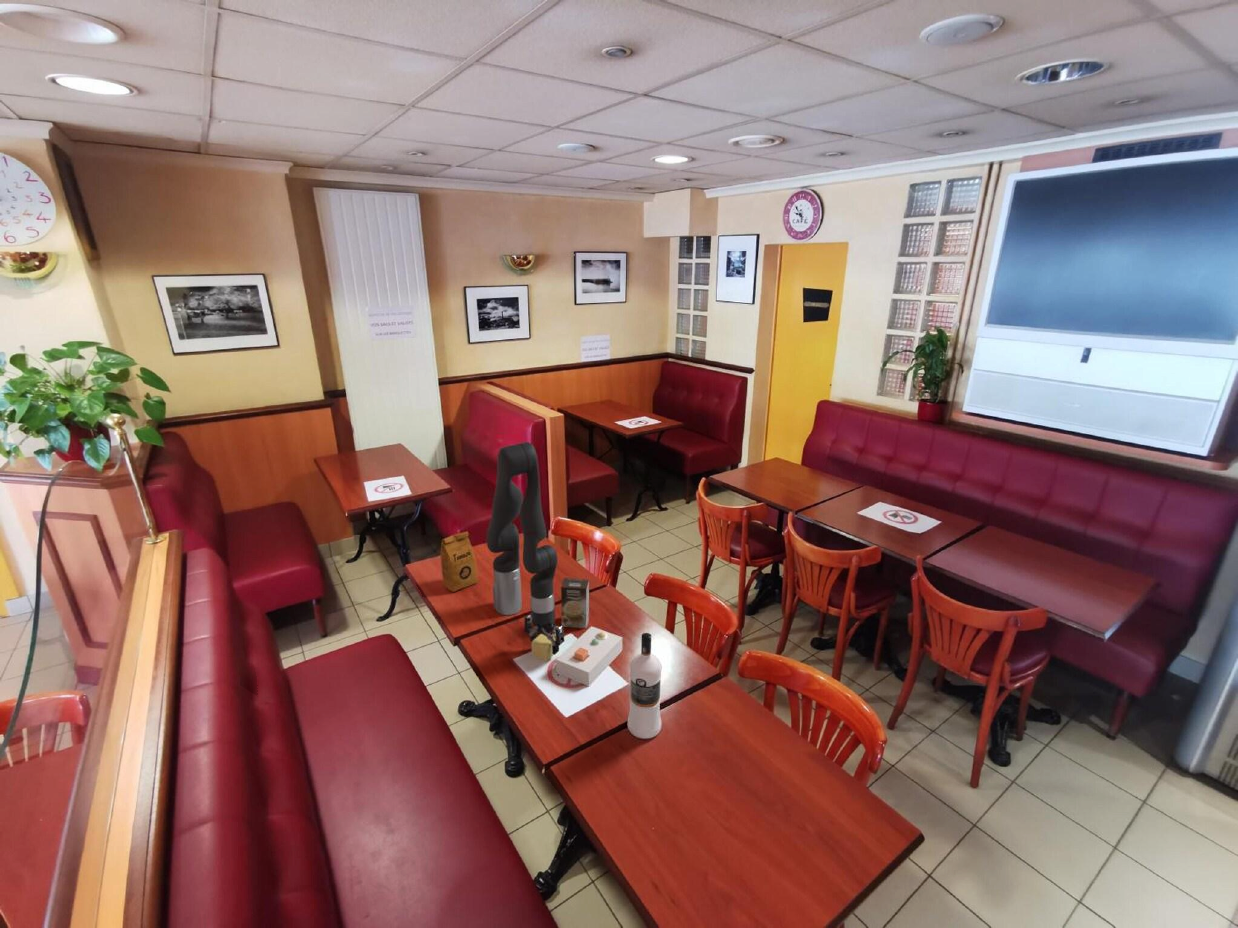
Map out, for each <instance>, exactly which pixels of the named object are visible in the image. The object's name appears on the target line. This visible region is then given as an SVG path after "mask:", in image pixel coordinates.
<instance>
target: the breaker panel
mask: <svg viewBox="0 0 1238 928" xmlns="http://www.w3.org/2000/svg"><path fill="white" fill-rule="evenodd" d="M580 647H581V648H583V649H586V650H588V658H587V659H586V660H585V661H584V662H581V661H579V660H576V659H575V652H576V651H577V650H578V649H579V648H580ZM622 651H623V637H622V636H619V635H617V634H614V633H612V632H608V631H605V630H603V629H601V628H598V627H594V626H590V627H589V628H588V629H587V630H586V631H584V633H582V634H581V636H579V637H578V638H577V639H576V640H575V641H574V642H573V643H572V644H571V645H570V646H569V647H568V648H567V649H566V650H565V651H563V652H562V653H561V654H560V655H559V656H558V657H557V658H555V666H556V674H558V675H560V676H563V677H565V678H568V679H570V680H573V681H575V682H577V683H580V684H581V685H582V684H583V685H585V686H587V687H590V686H591V685H592V684H593V683H594V682H595V681H596V680H597V678H598V677H600V675H602V673H603V672H605V670H606V669H607V668H608V667H609V666H610V664H612V662H613V661H614V660H615V659H616V658H617V657H618V656H619V655H620V653H622Z"/></svg>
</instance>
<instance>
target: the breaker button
mask: <svg viewBox="0 0 1238 928" xmlns="http://www.w3.org/2000/svg"><path fill="white" fill-rule="evenodd" d="M587 658H588V650H586V649H583V648H581V647H580V648H579V649H578V650H577V651H576V652H575V659H576V660H579V661H581V662H584V661H585V660H586V659H587Z"/></svg>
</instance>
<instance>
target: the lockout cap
mask: <svg viewBox="0 0 1238 928" xmlns="http://www.w3.org/2000/svg"><path fill="white" fill-rule="evenodd" d="M551 635H552V634H550V636H551ZM553 639H554V640H555V638H554V637H553ZM530 644H531V645H532V646H531V655H532V656H534V657H536V658H539V659H541V660H543V661H545V662H547V661H549V660H550V659H551V658H553V656H555V655H554V654H552V645H553V644H552V643H551V641H550V640H548V638H547V637H546V636H544V635H543V634H539V635H537V638H536V639H534V640H533V641H532V642H531V643H530Z"/></svg>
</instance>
